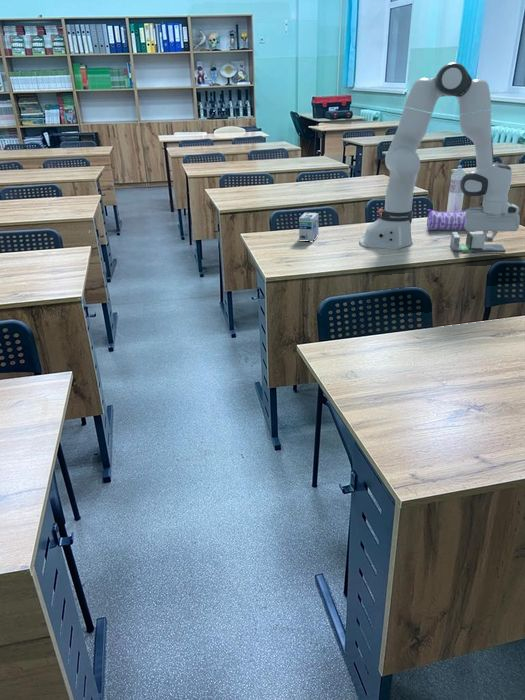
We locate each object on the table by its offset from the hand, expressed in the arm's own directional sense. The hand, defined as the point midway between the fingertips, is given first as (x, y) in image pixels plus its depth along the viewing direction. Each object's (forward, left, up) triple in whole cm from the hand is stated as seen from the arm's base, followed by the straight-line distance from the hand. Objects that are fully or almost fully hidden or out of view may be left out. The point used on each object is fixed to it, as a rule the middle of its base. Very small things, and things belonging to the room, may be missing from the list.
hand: (488, 241), depth 211 cm
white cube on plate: (-5, 0, -2) cm, 5 cm away
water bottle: (-6, +51, -4) cm, 51 cm away
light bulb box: (-74, +14, -4) cm, 75 cm away
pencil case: (-10, +31, -4) cm, 33 cm away
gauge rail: (-4, 0, -4) cm, 5 cm away
